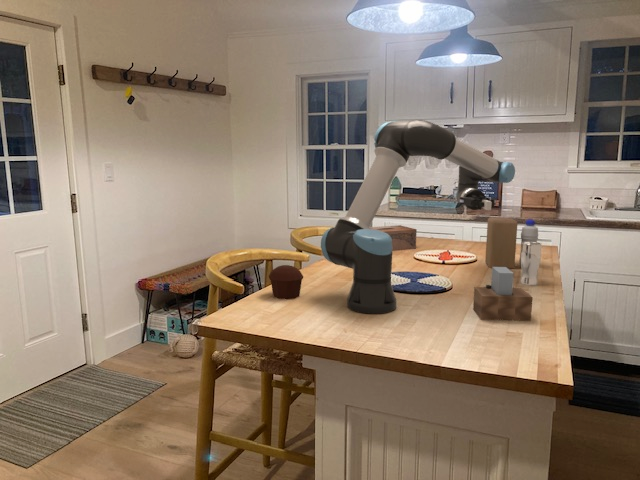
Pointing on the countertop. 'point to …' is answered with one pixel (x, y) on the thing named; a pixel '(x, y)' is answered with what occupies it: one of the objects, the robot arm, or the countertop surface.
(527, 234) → the bottle
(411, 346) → the countertop surface
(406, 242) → the tissue box cover
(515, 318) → the socket block
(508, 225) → the wooden block
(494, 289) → the peg
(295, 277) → the muffin
